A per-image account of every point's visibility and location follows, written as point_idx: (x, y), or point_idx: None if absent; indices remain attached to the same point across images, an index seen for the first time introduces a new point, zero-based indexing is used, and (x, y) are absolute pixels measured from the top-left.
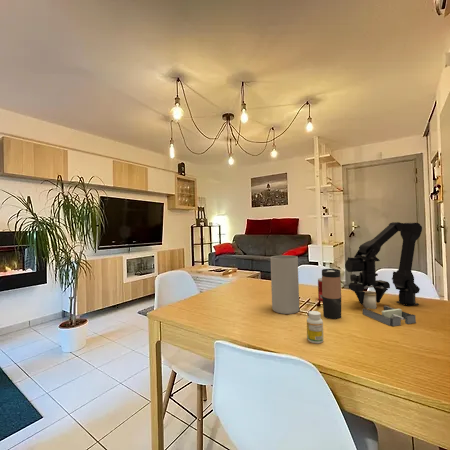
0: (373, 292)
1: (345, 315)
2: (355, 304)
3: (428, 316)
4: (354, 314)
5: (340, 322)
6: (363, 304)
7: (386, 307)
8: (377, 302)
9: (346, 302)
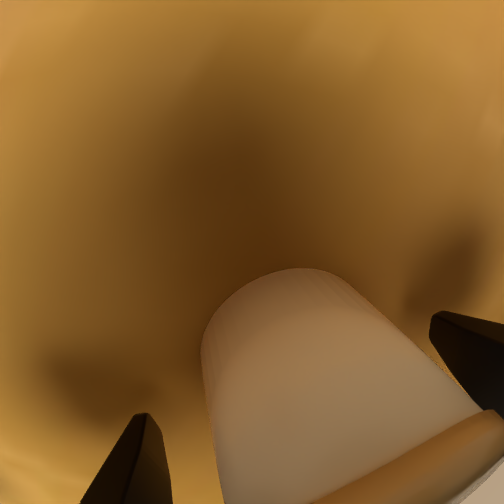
0: (470, 492)
1: (4, 470)
2: (121, 212)
3: None
4: (53, 478)
5: (3, 500)
6: (204, 372)
7: None
8: (432, 328)
9: (26, 86)
